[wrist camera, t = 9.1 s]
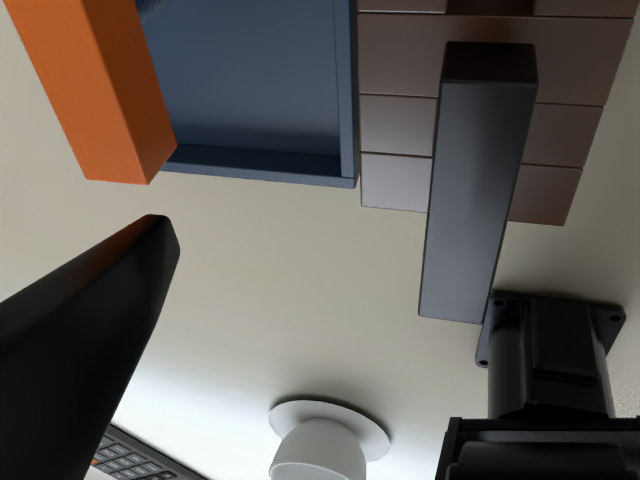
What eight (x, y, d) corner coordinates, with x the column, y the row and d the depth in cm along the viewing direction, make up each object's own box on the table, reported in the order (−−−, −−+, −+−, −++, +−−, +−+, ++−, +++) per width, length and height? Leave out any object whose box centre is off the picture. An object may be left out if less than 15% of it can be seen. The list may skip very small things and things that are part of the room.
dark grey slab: (486, 156, 22) (483, 326, 16) (438, 153, 23) (417, 317, 17) (524, -52, 17) (540, 83, 11) (460, -51, 17) (439, 79, 11)
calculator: (98, 430, 52) (215, 495, 58) (103, 421, 53) (218, 487, 59) (54, 448, 60) (162, 505, 65) (59, 440, 60) (165, 497, 66)
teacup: (312, 380, 38) (295, 441, 35) (417, 440, 41) (410, 502, 38) (249, 417, 45) (230, 471, 42) (342, 467, 48) (331, 521, 44)
